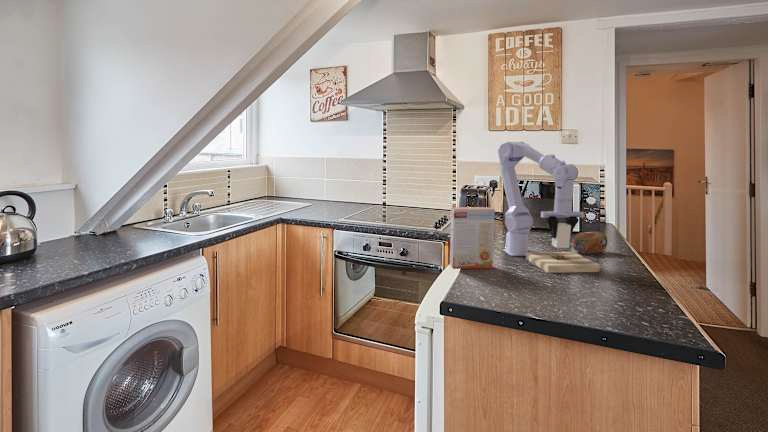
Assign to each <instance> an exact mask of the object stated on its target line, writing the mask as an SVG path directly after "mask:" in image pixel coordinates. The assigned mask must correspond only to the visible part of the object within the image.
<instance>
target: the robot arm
mask: <svg viewBox="0 0 768 432" xmlns="http://www.w3.org/2000/svg"><path fill="white" fill-rule="evenodd" d="M497 154H498V158H499V170H500V175H501V179H502V184H503V188H504V192H505V197H506V201H507V205H508V210H506V212H505V214H504V217H505V222H504V223H505V227H506V229H507V233H506V235H505V248H503V249H502V250H503V252H505V253H507V254H508V255H509V256H512V257H515V256H517V257H519V256H520V257H521V256H525V257H526V252H528V249H529V248H528V247H529V246H528V243H529V232H530V231H531V229H532V228H533V226H534V218H533V216H532V215H531V213H530V211H529V209H528V208H527V207H526V206H525V205H524V202H523V198H522V194H521V193H522V192H521V190H520V187H519V182H518V177H517V173H516V169H515V167H516V166H517V165H518V164H519V163H520V162H521V161H522V160H523V159H524V158H527V159H529V160H531V161H533V162H535V163H537V164H538V166H539V169H541V170H542V171H545V173H548V174H549V175H551V176H552V178H553V179H554V185H555V189H554V202H553V203H554V205H553V210H550V211H548V210H547V211H540V218H543V219H545V220H546V221H547V225H548V227H549V231H550V236H551V237H550V238H556V233H557V225H558V223H559V219H557V218H565V223H566V224H569V225H571V233H570V238H571V236H572V234H573V231H574V229H575V227H576V225H577V224H578V223H579V218H580V219H583V218H585V212H584V211H575V210H573V211H572V209H573V199H574V198H573V197H574V196H573V195H574V185H575V184H574V183H575V180H576V179H577V178H578V176H579V170H578V168H577V166H575V165H574V164H571V163H570V164H567V163H566V161H565V160H560V159H558V158H556V155H555V154H545V155H544V154H543V153H541V152H540V151H538V150H536V149H535V148H533V147H532V146H531V145H530V144H528V143H525V142H523V141H503V142H501V144H500V145H499V148H498V149H497Z"/></svg>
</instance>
